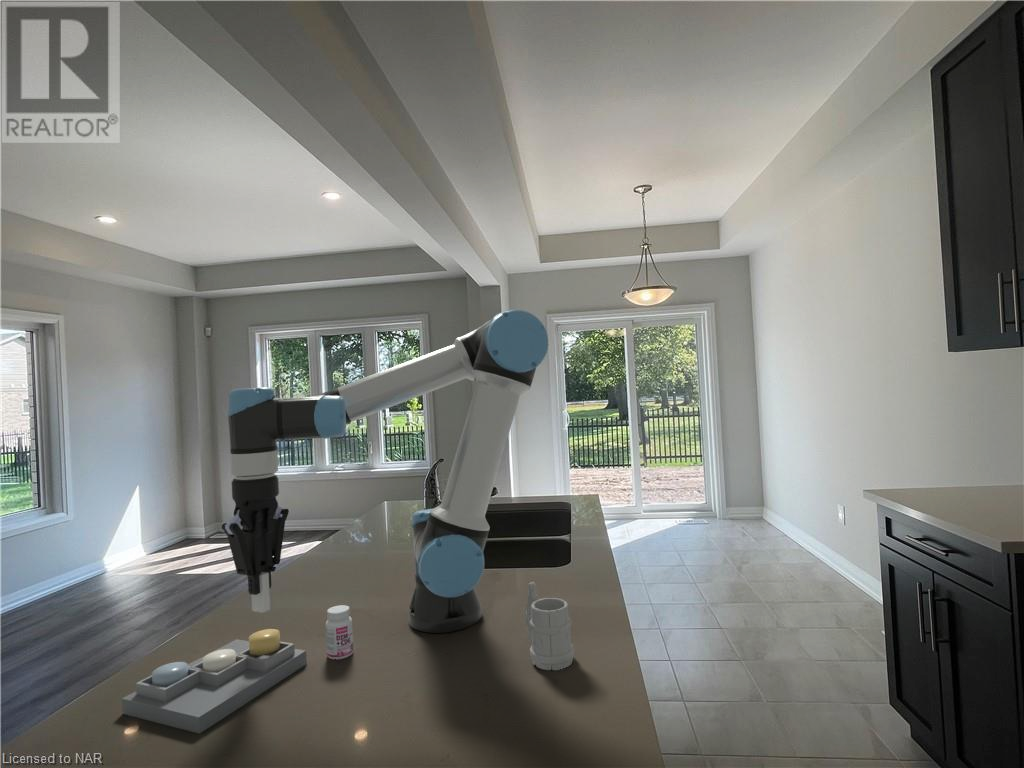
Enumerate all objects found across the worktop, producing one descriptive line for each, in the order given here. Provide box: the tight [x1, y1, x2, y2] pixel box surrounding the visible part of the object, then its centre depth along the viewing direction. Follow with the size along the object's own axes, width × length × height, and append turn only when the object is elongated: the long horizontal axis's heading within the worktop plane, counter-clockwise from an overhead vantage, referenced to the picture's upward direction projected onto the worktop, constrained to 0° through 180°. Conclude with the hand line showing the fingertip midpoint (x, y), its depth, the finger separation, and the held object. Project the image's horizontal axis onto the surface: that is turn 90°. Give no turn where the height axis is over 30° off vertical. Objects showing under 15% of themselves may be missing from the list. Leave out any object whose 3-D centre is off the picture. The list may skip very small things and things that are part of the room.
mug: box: [525, 581, 575, 671], centre depth 104 cm, size 8×12×12 cm, turn 28°
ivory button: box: [203, 649, 236, 673], centre depth 99 cm, size 5×5×2 cm
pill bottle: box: [325, 604, 354, 661], centre depth 109 cm, size 5×5×8 cm
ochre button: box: [248, 628, 281, 655], centre depth 103 cm, size 5×5×2 cm
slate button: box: [151, 661, 188, 688], centre depth 95 cm, size 5×5×2 cm
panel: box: [121, 638, 308, 734], centre depth 99 cm, size 17×22×4 cm
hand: (261, 610), depth 103 cm, fingers closed
